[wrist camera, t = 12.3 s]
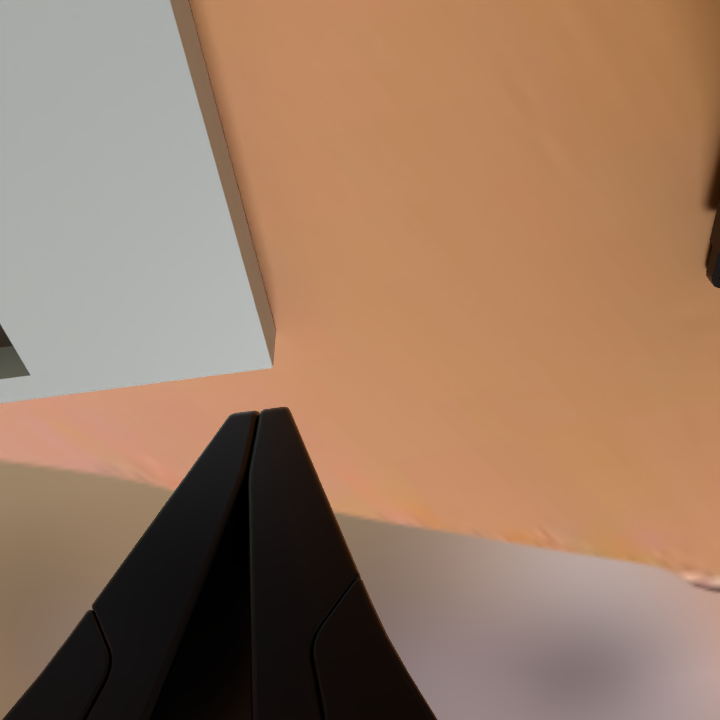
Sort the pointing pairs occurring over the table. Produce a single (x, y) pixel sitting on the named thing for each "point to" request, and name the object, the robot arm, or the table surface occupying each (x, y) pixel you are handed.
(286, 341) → the table surface
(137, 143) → the tray
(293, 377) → the table surface
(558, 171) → the table surface
